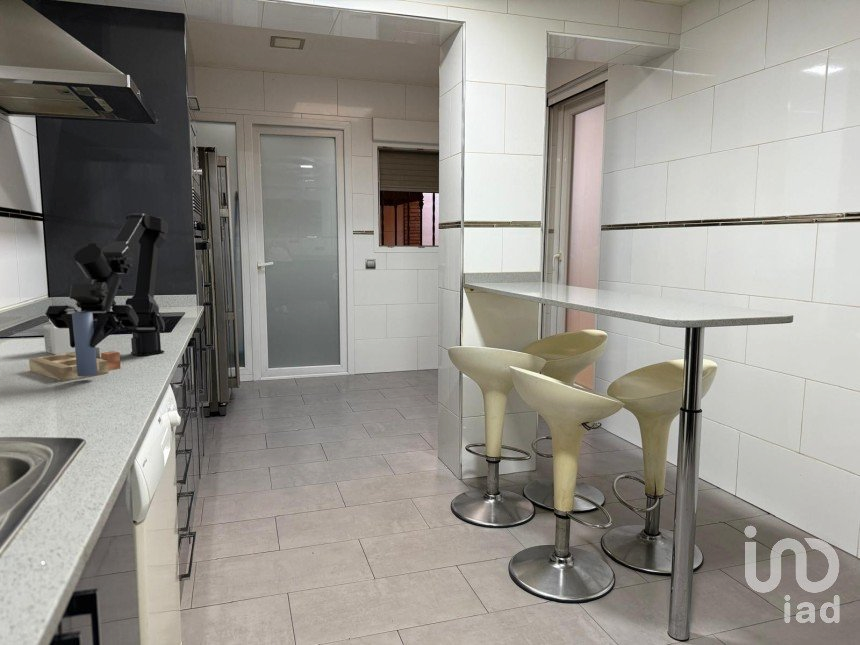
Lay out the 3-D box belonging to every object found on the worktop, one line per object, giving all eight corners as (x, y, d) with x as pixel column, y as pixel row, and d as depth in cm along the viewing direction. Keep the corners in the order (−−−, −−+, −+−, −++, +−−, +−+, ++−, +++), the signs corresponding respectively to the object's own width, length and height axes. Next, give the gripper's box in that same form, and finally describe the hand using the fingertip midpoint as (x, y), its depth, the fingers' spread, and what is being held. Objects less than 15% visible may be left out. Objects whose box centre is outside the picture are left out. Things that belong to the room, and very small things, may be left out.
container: (74, 348, 178) (70, 304, 176) (85, 351, 173) (81, 305, 171) (45, 352, 172) (40, 306, 170) (55, 355, 167) (51, 308, 165)
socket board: (91, 360, 159) (90, 345, 159) (126, 369, 149) (125, 353, 148) (29, 370, 148) (28, 354, 147) (63, 381, 137) (62, 363, 137)
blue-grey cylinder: (92, 371, 140) (87, 311, 138) (101, 373, 138) (95, 312, 136) (74, 374, 137) (68, 313, 135) (82, 376, 135) (76, 314, 133)
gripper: (45, 270, 138) (20, 325, 129) (129, 269, 138) (109, 324, 129) (68, 300, 147) (45, 354, 137) (146, 300, 147) (129, 353, 138)
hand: (81, 346), depth 135 cm, fingers closed on blue-grey cylinder, 4 cm apart
